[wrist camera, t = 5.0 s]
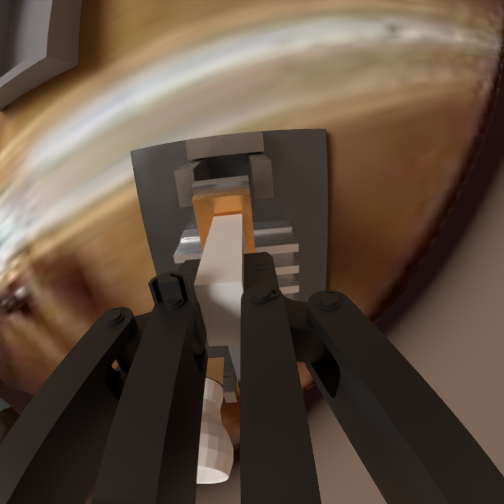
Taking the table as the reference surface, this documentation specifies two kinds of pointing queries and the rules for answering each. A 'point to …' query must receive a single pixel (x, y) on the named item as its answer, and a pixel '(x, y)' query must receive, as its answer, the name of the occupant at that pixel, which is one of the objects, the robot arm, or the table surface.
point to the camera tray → (36, 43)
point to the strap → (220, 204)
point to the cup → (213, 438)
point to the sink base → (262, 204)
